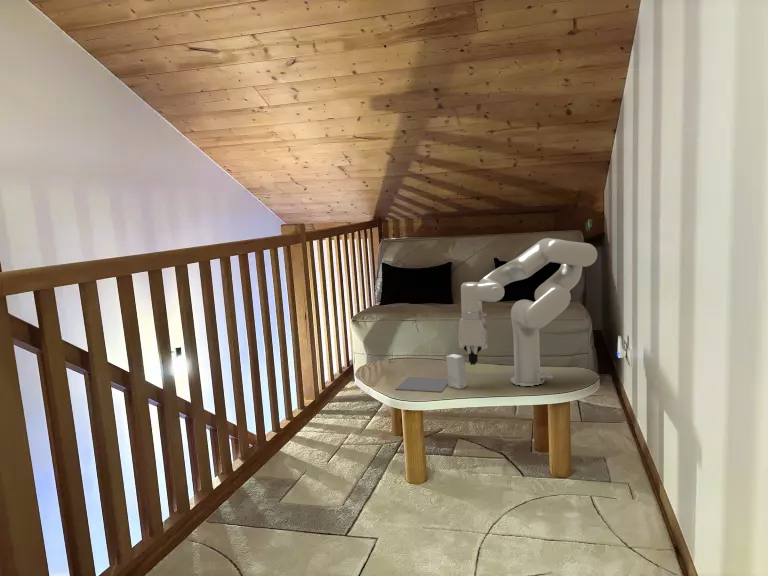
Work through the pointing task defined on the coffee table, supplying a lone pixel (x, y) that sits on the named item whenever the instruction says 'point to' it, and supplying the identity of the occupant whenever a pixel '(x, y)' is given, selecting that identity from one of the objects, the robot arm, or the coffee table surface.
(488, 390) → the coffee table surface
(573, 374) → the coffee table surface
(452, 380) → the skincare box
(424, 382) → the mat
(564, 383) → the coffee table surface
